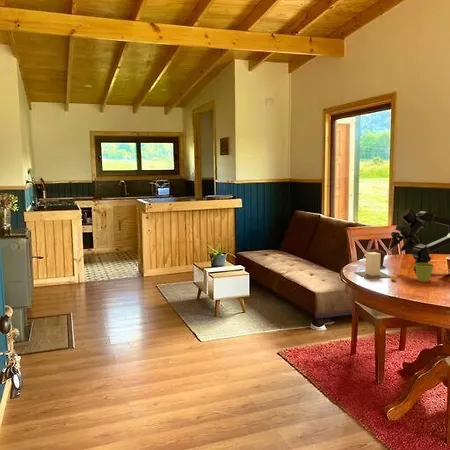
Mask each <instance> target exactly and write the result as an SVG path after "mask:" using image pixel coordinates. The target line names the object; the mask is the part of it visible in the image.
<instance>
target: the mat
mask: <svg viewBox="0 0 450 450" xmlns="http://www.w3.org/2000/svg"><path fill="white" fill-rule="evenodd" d="M354 274H356V275H358V276H360V277H362V278H363V277H364V278H363V279H366V280H367V279H368V280H369V279H372V280H373V279H391V276H392V275H389V274H387V273H385V272H383V271H381V270H380V275H375V276H370V275H368V274H365V271H354Z"/></svg>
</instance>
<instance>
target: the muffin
mask: <svg viewBox="0 0 450 450" xmlns="http://www.w3.org/2000/svg"><path fill="white" fill-rule="evenodd" d="M368 252H376V253H380V254H381V257H380V268H381V267H383V265H384V262H385V261H384V259H385V257H386V254H385V252H384V251H383V250H381V249H378V248H373V249H372V248H371V249H370V250H367V252H366V253H368Z"/></svg>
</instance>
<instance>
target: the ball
mask: <svg viewBox="0 0 450 450" xmlns="http://www.w3.org/2000/svg"><path fill="white" fill-rule="evenodd" d="M390 276H391V278H390V280H391V281H393V282H394V281H397V278H398V277H397V276H396V275H395V274H392V275H390Z"/></svg>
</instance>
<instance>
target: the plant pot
mask: <svg viewBox="0 0 450 450" xmlns="http://www.w3.org/2000/svg"><path fill="white" fill-rule="evenodd" d="M413 266H415V268H416V270H415V273H416V280H417V281H418V282H422V283H429V282H430V281H431V276H432V271H433V268H434V266H435V265H434V264H433V263H430V262H428V263H415V262H414V263H413Z"/></svg>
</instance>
